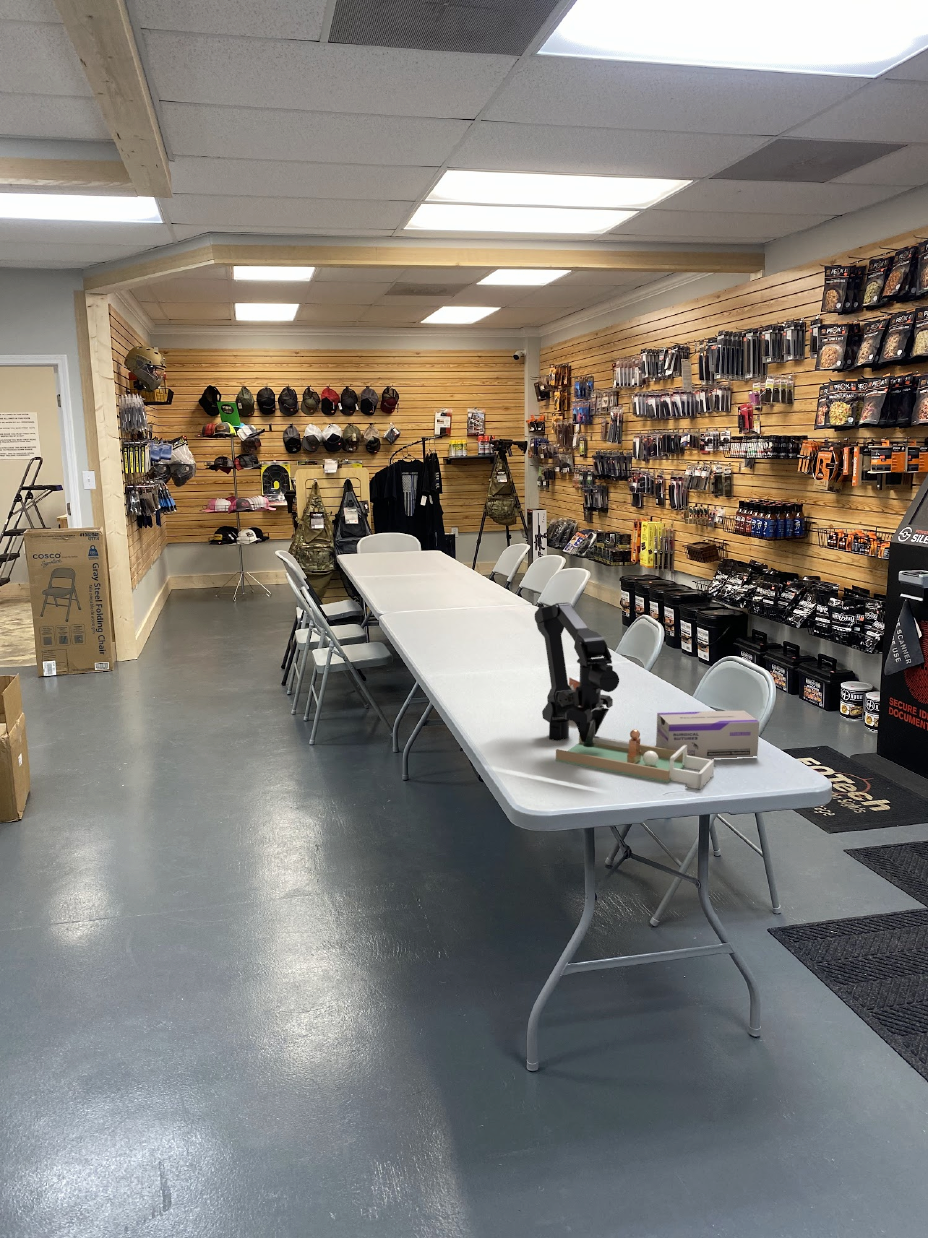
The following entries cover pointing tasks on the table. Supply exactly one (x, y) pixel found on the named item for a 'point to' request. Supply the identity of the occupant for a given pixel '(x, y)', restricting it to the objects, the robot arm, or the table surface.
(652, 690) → the table surface
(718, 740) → the surgical sutures box
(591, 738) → the rod
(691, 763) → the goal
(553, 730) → the robot arm
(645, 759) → the ball
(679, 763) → the pitch
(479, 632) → the table surface
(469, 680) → the table surface
